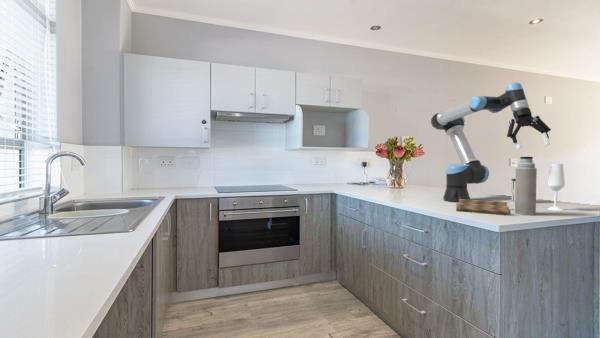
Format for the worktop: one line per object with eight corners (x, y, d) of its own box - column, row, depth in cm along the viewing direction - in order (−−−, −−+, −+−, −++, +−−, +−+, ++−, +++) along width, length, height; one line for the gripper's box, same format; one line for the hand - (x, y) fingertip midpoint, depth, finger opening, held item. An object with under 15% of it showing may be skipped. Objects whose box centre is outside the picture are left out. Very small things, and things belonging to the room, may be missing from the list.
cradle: (506, 209, 151) (506, 202, 151) (508, 215, 136) (508, 207, 136) (459, 206, 163) (459, 199, 163) (456, 211, 148) (456, 203, 148)
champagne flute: (560, 208, 151) (561, 163, 150) (567, 211, 145) (568, 163, 144) (544, 208, 153) (545, 163, 152) (550, 210, 147) (551, 164, 146)
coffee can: (531, 201, 176) (531, 178, 175) (533, 203, 167) (534, 180, 166) (510, 200, 181) (510, 178, 180) (511, 202, 172) (512, 179, 172)
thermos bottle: (511, 212, 144) (512, 156, 143) (528, 212, 143) (529, 156, 142) (521, 215, 136) (523, 156, 135) (539, 215, 135) (541, 156, 134)
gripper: (500, 110, 152) (512, 147, 146) (550, 103, 149) (564, 140, 143) (493, 116, 159) (503, 152, 153) (540, 110, 156) (554, 146, 151)
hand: (533, 146), depth 148 cm, fingers open, 13 cm apart
